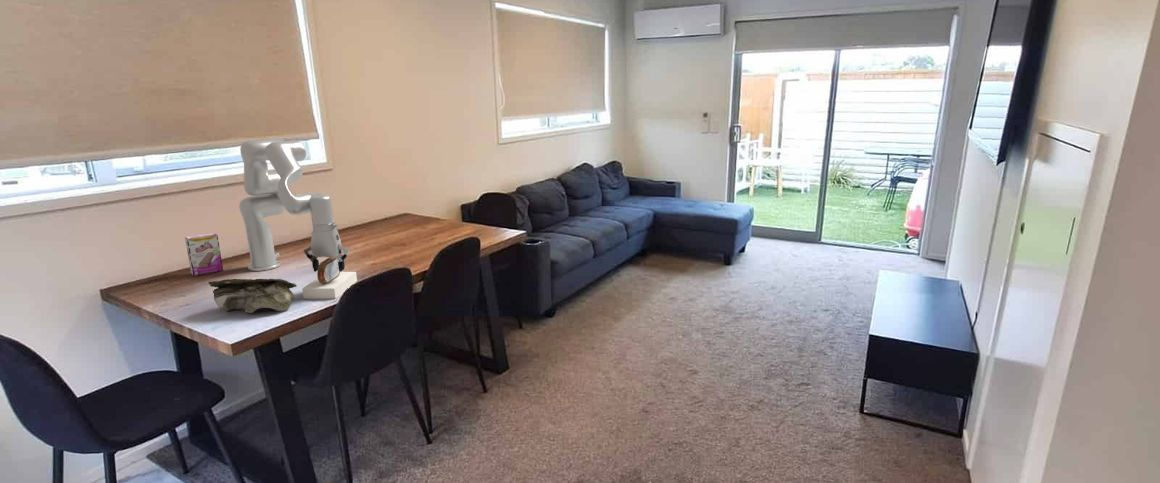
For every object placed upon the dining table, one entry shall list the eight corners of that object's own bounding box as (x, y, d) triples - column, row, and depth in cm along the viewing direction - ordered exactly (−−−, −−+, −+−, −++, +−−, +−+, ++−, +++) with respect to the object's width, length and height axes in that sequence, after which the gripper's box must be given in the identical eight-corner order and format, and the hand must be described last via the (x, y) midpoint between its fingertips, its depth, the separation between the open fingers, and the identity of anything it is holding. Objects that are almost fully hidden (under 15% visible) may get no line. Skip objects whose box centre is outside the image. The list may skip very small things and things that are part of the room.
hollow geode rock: (215, 323, 196) (190, 305, 183) (226, 290, 202) (202, 271, 189) (295, 319, 196) (275, 301, 183) (303, 287, 203) (284, 268, 190)
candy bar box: (193, 276, 231) (186, 239, 227) (191, 274, 234) (183, 236, 230) (224, 271, 238) (217, 234, 234) (221, 268, 242) (214, 232, 238)
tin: (335, 273, 221) (333, 253, 219) (343, 273, 221) (341, 253, 219) (317, 286, 207) (315, 265, 205) (326, 286, 207) (323, 265, 205)
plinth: (327, 281, 225) (326, 271, 224) (357, 281, 225) (356, 271, 224) (303, 298, 206) (302, 288, 205) (335, 298, 206) (334, 288, 204)
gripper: (350, 225, 212) (355, 267, 217) (306, 225, 213) (311, 267, 217) (342, 230, 205) (347, 273, 210) (296, 230, 205) (302, 273, 210)
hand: (329, 270), depth 213 cm, fingers open, 9 cm apart
